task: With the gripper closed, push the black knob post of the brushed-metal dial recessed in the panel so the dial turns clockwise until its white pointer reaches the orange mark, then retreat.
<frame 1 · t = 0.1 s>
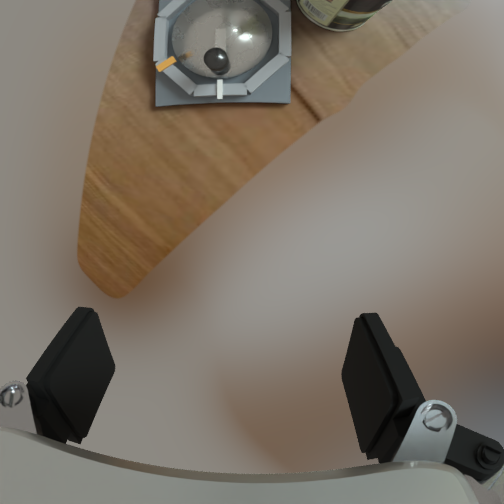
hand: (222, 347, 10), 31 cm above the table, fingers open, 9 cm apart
panel: (223, 37, 31), on the table
dial: (219, 28, 27), point 4 cm above the table, hinge at 0.0°
coffee can: (333, 0, 28), on the table
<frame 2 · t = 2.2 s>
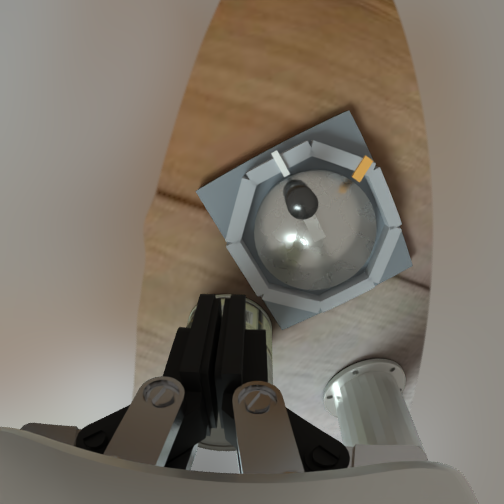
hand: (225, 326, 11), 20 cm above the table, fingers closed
panel: (313, 226, 31), on the table
dial: (321, 240, 27), point 4 cm above the table, hinge at 0.0°
coffee can: (230, 329, 36), on the table
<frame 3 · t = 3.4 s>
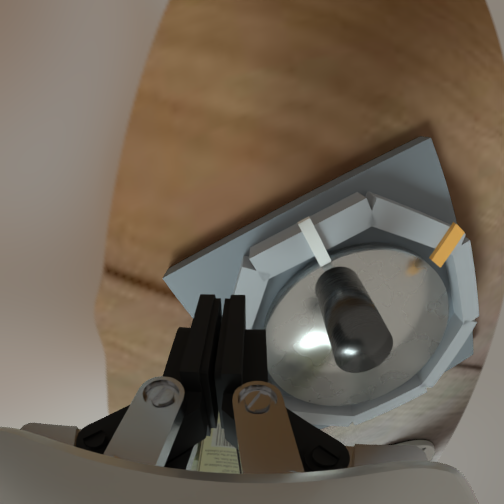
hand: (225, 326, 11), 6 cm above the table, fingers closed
panel: (354, 320, 19), on the table
dial: (372, 365, 15), point 4 cm above the table, hinge at 0.0°
coffee can: (228, 430, 24), on the table
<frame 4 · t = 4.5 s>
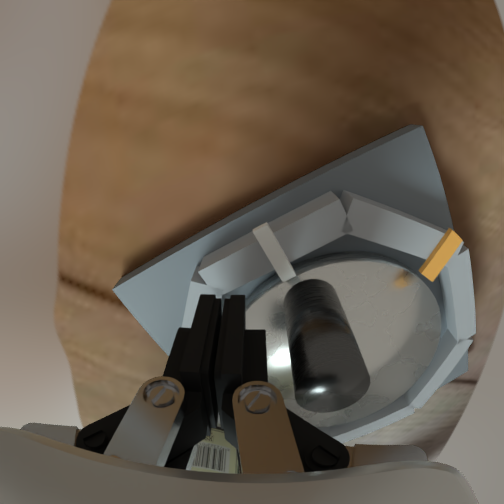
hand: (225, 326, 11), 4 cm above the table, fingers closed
panel: (331, 337, 17), on the table
dial: (347, 393, 13), point 4 cm above the table, hinge at -2.8°
coffee can: (202, 443, 22), on the table
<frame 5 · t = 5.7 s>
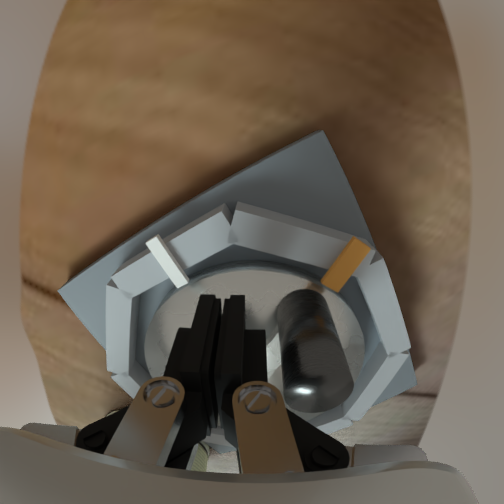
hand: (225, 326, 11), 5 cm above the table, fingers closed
panel: (254, 343, 18), on the table
dial: (253, 398, 14), point 4 cm above the table, hinge at -58.8°, touching gripper
coffee can: (156, 439, 23), on the table
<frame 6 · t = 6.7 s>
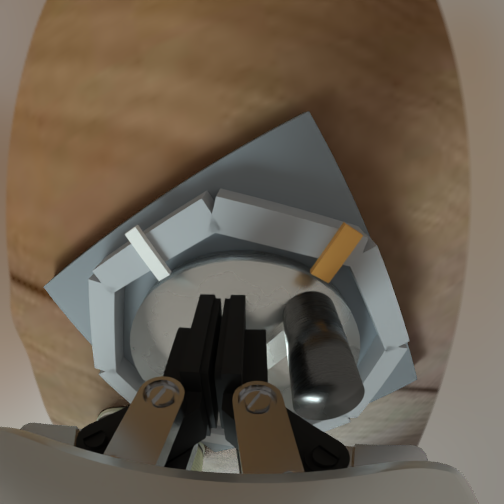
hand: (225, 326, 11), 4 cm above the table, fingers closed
panel: (245, 337, 17), on the table
dial: (242, 396, 13), point 4 cm above the table, hinge at -71.3°
coffee can: (151, 437, 23), on the table
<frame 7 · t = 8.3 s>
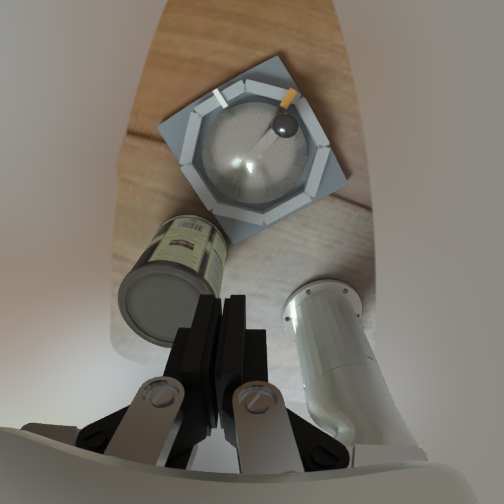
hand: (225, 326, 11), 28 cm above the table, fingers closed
panel: (254, 151, 36), on the table
dial: (254, 155, 32), point 4 cm above the table, hinge at -71.3°
coffee can: (190, 249, 41), on the table
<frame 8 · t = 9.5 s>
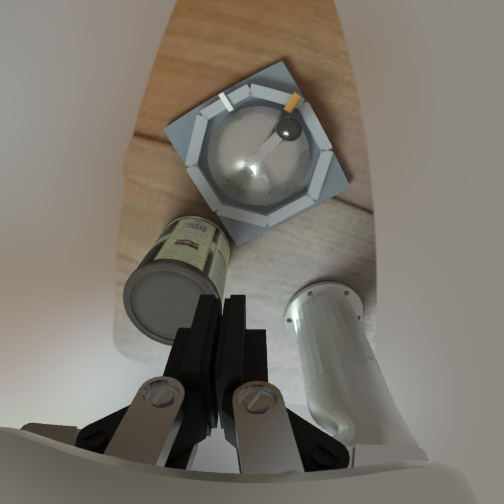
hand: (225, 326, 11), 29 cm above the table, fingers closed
panel: (258, 154, 37), on the table
dial: (259, 158, 33), point 4 cm above the table, hinge at -71.3°
coffee can: (194, 250, 42), on the table
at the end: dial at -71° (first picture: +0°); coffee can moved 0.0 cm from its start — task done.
